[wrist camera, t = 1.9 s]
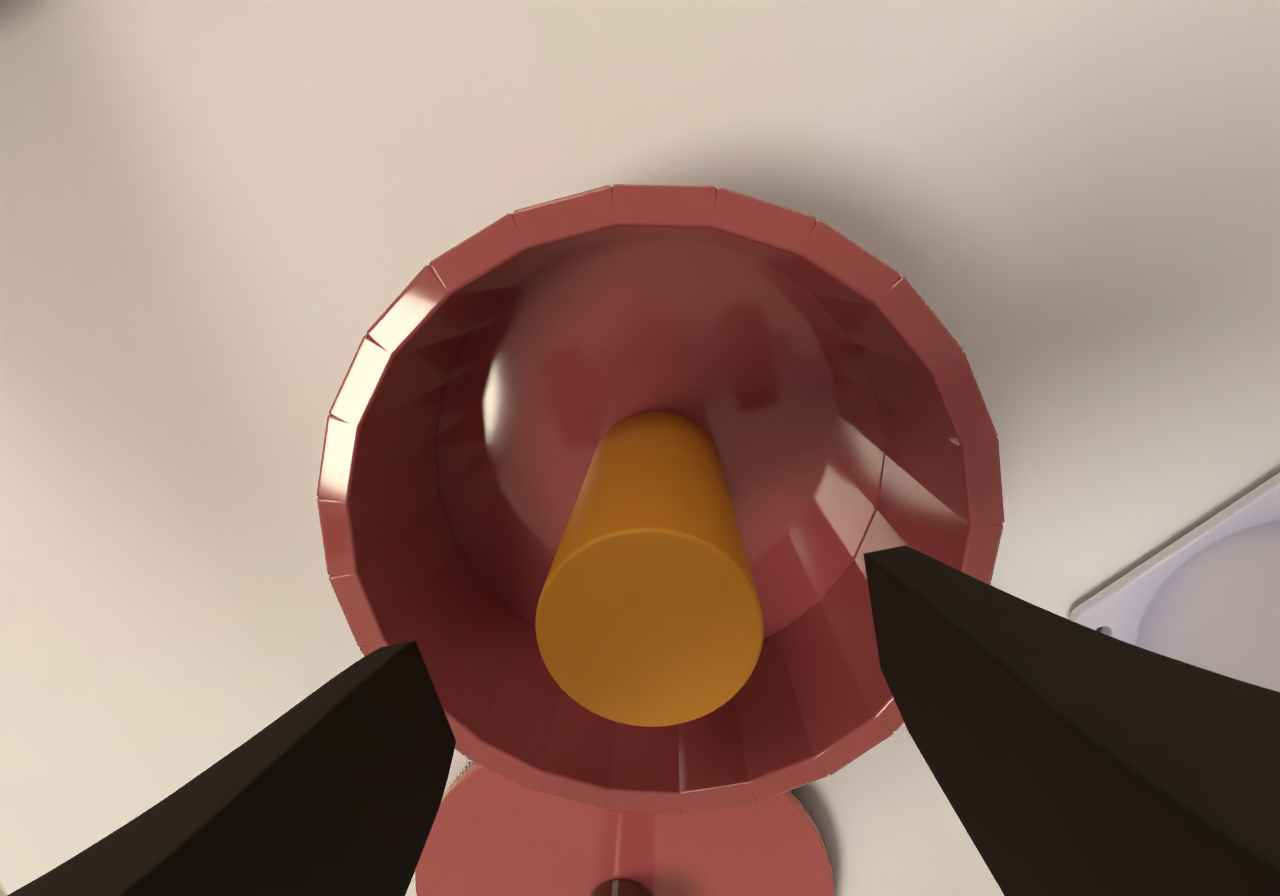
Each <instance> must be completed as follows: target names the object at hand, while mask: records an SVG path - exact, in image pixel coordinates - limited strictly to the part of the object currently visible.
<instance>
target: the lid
mask: <svg viewBox="0 0 1280 896" xmlns="http://www.w3.org/2000/svg"><path fill="white" fill-rule="evenodd" d="M415 874H416V893H417V896H835V890H834V881H833V872H832V868H831V865H830V861H829V858H828V854H827V851H826V848H825V844H824V841H823V839H822V837H821V835H820V833H819V831H818V829H817V826H816V824H815V822H814V820H813V819H812V818H811V816H810V815H809V813H808V812H807V810H806V809H805V808H804V806H803V805H802V803H801V802H800V801H799V799H798V798H797V797H796V796H795V795H794V794H793V793H792V792H791V791H787V792H785V793H782V794H779V795H777V796H774V797H771V798H769V799H766V800H764V801H761V802H758V801H757V803H755V804H749V805H743V806H736V807H729V808H723V809H716V810H710V811H703V812H696V813H690V814H682V813H681V814H680V815H678V814H659V813H641V812H623V811H608V810H607V809H606V808H605V809H600V808H596V807H593V806H589V805H585V804H581V803H577V802H574V801H570V800H566V799H562V798H558V797H555V796H551V795H547V794H543V793H540V792H536V791H535V790H534V789H533V790H529V789H527V788H526V787H524V786H522V785H520V784H518V783H516V782H514V781H512V780H510V779H508V778H506V777H504V776H502V775H500V774H498V773H496V772H494V771H492V770H490V769H488V768H486V767H484V766H482V765H480V764H478V763H475V764H473V765H472V766H471V767H470V768H468V769H467V770H466V771H465V772H464V773H463V774H462V775H461V776H460V777H459V778H458V779H457V780H456V781H454V782H453V784H452V785H451V786H450V787H449V789H448V790H447V791H446V793H445V794H444V795H443V796H442V800H441V804H440V807H439V810H438V812H437V815H436V818H435V820H434V823H433V826H432V828H431V831H430V833H429V836H428V838H427V841H426V844H425V846H424V849H423V851H422V854H421V857H420V859H419V862H418V864H417V867H416V869H415Z"/></svg>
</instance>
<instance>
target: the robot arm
mask: <svg viewBox="0 0 1280 896" xmlns="http://www.w3.org/2000/svg"><path fill="white" fill-rule="evenodd" d="M863 555H864V562H865V569H866V575H867V582H868V589H869V595H870V602H871V609H872V615H873V622H874V628H875V635H876V642H877V648H878V655H879V662H880V668H881V670H882V673H883V675H884V677H885V680H886V682H887V684H888V687H889V689H890V691H891V694H892V696H893V698H894V701H895V703H896V705H897V707H898V709H899V712H900V714H901V716H902V718H903V721H904V723H905V725H906V727H907V729H908V731H909V733H910V735H911V737H912V738H913V740H914V742H915V744H916V745H917V747H918V749H919V750H920V752H921V754H922V756H923V757H924V759H925V761H926V763H927V764H928V766H929V768H930V769H931V771H932V773H933V775H934V776H935V778H936V780H937V781H938V783H939V785H940V787H941V788H942V790H943V792H944V793H945V795H946V797H947V798H948V800H949V802H950V804H951V805H952V807H953V809H954V810H955V812H956V814H957V815H958V817H959V819H960V820H961V822H962V824H963V826H964V827H965V829H966V831H967V832H968V834H969V836H970V837H971V839H972V841H973V843H974V844H975V846H976V848H977V849H978V851H979V853H980V854H981V856H982V858H983V860H984V861H985V863H986V865H987V866H988V868H989V870H990V871H991V873H992V875H993V877H994V878H995V880H996V882H997V883H998V885H999V887H1000V888H1001V890H1002V892H1003V894H1004V896H1280V472H1279V473H1278V474H1276V475H1275V476H1273V477H1272V478H1270V479H1269V480H1267V481H1266V482H1264V483H1263V484H1261V485H1260V486H1258V487H1257V488H1255V489H1254V490H1252V491H1251V492H1249V493H1248V494H1246V495H1245V496H1243V497H1242V498H1240V499H1239V500H1237V501H1235V502H1234V503H1232V504H1231V505H1229V506H1228V507H1226V508H1225V509H1223V510H1222V511H1220V512H1219V513H1217V514H1216V515H1214V516H1213V517H1211V518H1210V519H1208V520H1207V521H1205V522H1204V523H1202V524H1201V525H1199V526H1198V527H1196V528H1195V529H1193V530H1192V531H1190V532H1189V533H1187V534H1186V535H1184V536H1183V537H1181V538H1180V539H1178V540H1177V541H1175V542H1174V543H1172V544H1171V545H1169V546H1168V547H1166V548H1165V549H1163V550H1162V551H1160V552H1158V553H1157V554H1155V555H1154V556H1152V557H1151V558H1149V559H1148V560H1146V561H1145V562H1143V563H1142V564H1140V565H1139V566H1137V567H1136V568H1134V569H1133V570H1131V571H1130V572H1128V573H1127V574H1125V575H1124V576H1122V577H1121V578H1119V579H1118V580H1116V581H1115V582H1113V583H1112V584H1110V585H1109V586H1107V587H1106V588H1104V589H1103V590H1101V591H1100V592H1098V593H1097V594H1095V595H1094V596H1092V597H1091V598H1089V599H1088V600H1086V601H1085V602H1083V603H1081V604H1080V605H1078V606H1077V607H1076V608H1075V609H1074V610H1073V611H1072V612H1071V614H1070V616H1069V620H1068V619H1066V618H1063V617H1061V616H1058V615H1056V614H1054V613H1051V612H1049V611H1047V610H1044V609H1042V608H1040V607H1037V606H1035V605H1033V604H1030V603H1028V602H1026V601H1024V600H1021V599H1019V598H1017V597H1015V596H1012V595H1010V594H1008V593H1006V592H1004V591H1002V590H999V589H997V588H995V587H993V586H991V585H989V584H986V583H984V582H982V581H980V580H978V579H976V578H974V577H972V576H970V575H968V574H965V573H963V572H961V571H959V570H957V569H955V568H953V567H951V566H949V565H947V564H945V563H943V562H941V561H938V560H936V559H934V558H932V557H930V556H928V555H926V554H924V553H921V552H919V551H917V550H915V549H912V548H910V547H907V546H900V547H894V548H889V549H884V550H879V551H874V552H869V553H864V554H863ZM1100 627H1102V629H1101V630H1100V631H1099V632H1098V631H1096V630H1097V629H1098V628H1100ZM455 744H456V739H455V737H454V734H453V732H452V729H451V727H450V724H449V722H448V719H447V717H446V714H445V712H444V710H443V707H442V705H441V702H440V700H439V697H438V695H437V692H436V690H435V687H434V685H433V682H432V680H431V677H430V675H429V672H428V670H427V667H426V665H425V662H424V660H423V657H422V655H421V652H420V650H419V647H418V645H417V642H416V640H415V641H410V642H405V643H400V644H395V645H389V646H384V647H380V648H379V649H377V650H375V651H373V652H372V653H370V654H368V655H367V656H365V657H363V658H362V659H360V660H359V661H357V662H356V663H354V664H353V665H351V666H350V667H348V668H347V669H345V670H344V671H343V672H341V673H340V674H338V675H337V676H336V677H334V678H333V679H331V680H330V681H329V682H327V683H326V684H324V685H323V686H322V687H320V688H319V689H318V690H316V691H315V692H313V693H312V694H311V695H309V696H308V697H307V698H305V699H304V700H303V701H301V702H300V703H298V704H297V705H296V706H294V707H293V708H292V709H290V710H289V711H288V712H286V713H285V714H284V715H282V716H281V717H279V718H278V719H277V720H275V721H274V722H273V723H271V724H270V725H269V726H267V727H266V728H265V729H263V730H262V731H260V732H259V733H258V734H256V735H255V736H254V737H252V738H251V739H250V740H248V741H247V742H245V743H244V744H242V745H241V746H240V747H238V748H237V749H235V750H234V751H232V752H231V753H230V754H228V755H227V756H225V757H224V758H223V759H221V760H220V761H218V762H217V763H215V764H214V765H213V766H211V767H210V768H208V769H207V770H205V771H204V772H203V773H201V774H200V775H198V776H197V777H196V778H194V779H193V780H191V781H190V782H188V783H187V784H186V785H184V786H183V787H181V788H180V789H178V790H177V791H176V792H174V793H173V794H171V795H170V796H168V797H167V798H165V799H164V800H162V801H161V802H159V803H158V804H156V805H155V806H153V807H152V808H150V809H149V810H147V811H146V812H144V813H143V814H141V815H140V816H138V817H137V818H135V819H133V820H132V821H130V822H129V823H127V824H126V825H124V826H123V827H121V828H119V829H118V830H116V831H115V832H113V833H111V834H110V835H108V836H107V837H105V838H103V839H102V840H100V841H99V842H97V843H95V844H94V845H92V846H91V847H89V848H87V849H86V850H84V851H83V852H81V853H79V854H78V855H76V856H75V857H73V858H71V859H70V860H68V861H66V862H65V863H63V864H61V865H60V866H58V867H56V868H55V869H53V870H51V871H50V872H48V873H46V874H45V875H43V876H41V877H39V878H38V879H36V880H34V881H32V882H30V883H29V884H27V885H25V886H23V887H22V888H20V889H18V890H16V891H15V892H13V893H11V894H9V895H8V896H405V894H406V892H407V889H408V887H409V884H410V882H411V879H412V877H413V874H414V872H415V869H416V867H417V864H418V862H419V859H420V857H421V854H422V851H423V849H424V846H425V844H426V841H427V838H428V836H429V833H430V831H431V828H432V826H433V823H434V820H435V818H436V815H437V812H438V810H439V807H440V804H441V800H442V796H443V793H444V789H445V786H446V782H447V778H448V774H449V770H450V766H451V762H452V757H453V753H454V749H455Z"/></svg>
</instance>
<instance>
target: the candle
mask: <svg viewBox="0 0 1280 896" xmlns="http://www.w3.org/2000/svg"><path fill="white" fill-rule="evenodd" d="M535 628H536V637H537V642H538V646H539V650H540V653H541V656H542V658H543V661H544V663H545V665H546V667H547V669H548V671H549V672H550V674H551V676H552V677H553V679H554V680H555V681H556V682H557V684H558V685H559V686H560V688H561V689H562V690H563V691H564V692H566V693H567V694H568V695H569V696H570V697H571V698H572V699H573V700H575V701H576V702H577V703H578V704H580V705H581V706H583V707H585V708H586V709H588V710H589V711H591V712H593V713H595V714H597V715H600V716H602V717H604V718H607V719H610V720H613V721H616V722H619V723H624V724H628V725H634V726H644V727H661V726H670V725H676V724H681V723H685V722H689V721H692V720H695V719H697V718H700V717H702V716H704V715H707V714H709V713H711V712H713V711H714V710H716V709H717V708H719V707H721V706H722V705H724V704H725V703H726V702H727V701H729V700H730V699H731V698H732V697H733V696H734V695H735V694H736V693H737V692H738V691H739V690H740V689H741V688H742V687H743V686H744V684H745V683H746V681H747V680H748V678H749V677H750V676H751V674H752V672H753V670H754V668H755V666H756V664H757V662H758V659H759V656H760V653H761V650H762V644H763V638H764V619H763V612H762V608H761V604H760V600H759V597H758V593H757V590H756V586H755V583H754V579H753V576H752V572H751V569H750V565H749V561H748V558H747V554H746V551H745V547H744V544H743V540H742V537H741V533H740V529H739V526H738V522H737V519H736V515H735V512H734V508H733V505H732V501H731V498H730V494H729V490H728V487H727V483H726V480H725V476H724V473H723V469H722V466H721V462H720V459H719V455H718V452H717V450H716V448H715V445H714V444H713V442H712V441H711V439H710V438H709V436H708V435H707V434H706V433H705V432H704V431H703V430H702V429H701V428H700V427H699V426H698V425H696V424H695V423H693V422H692V421H690V420H688V419H687V418H685V417H682V416H680V415H677V414H673V413H669V412H661V411H649V412H643V413H639V414H635V415H632V416H630V417H627V418H625V419H623V420H622V421H620V422H618V423H617V424H616V425H614V426H613V427H612V428H611V429H610V430H609V431H608V432H607V433H606V434H605V435H604V437H603V438H602V439H601V441H600V442H599V444H598V446H597V448H596V451H595V453H594V456H593V458H592V461H591V464H590V466H589V469H588V472H587V474H586V477H585V479H584V482H583V485H582V487H581V490H580V493H579V495H578V498H577V500H576V503H575V506H574V508H573V511H572V513H571V516H570V519H569V521H568V524H567V527H566V529H565V532H564V534H563V537H562V540H561V542H560V545H559V548H558V550H557V553H556V555H555V558H554V561H553V563H552V566H551V568H550V571H549V574H548V576H547V579H546V582H545V584H544V587H543V590H542V592H541V595H540V598H539V601H538V606H537V611H536V624H535Z"/></svg>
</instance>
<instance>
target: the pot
mask: <svg viewBox="0 0 1280 896" xmlns="http://www.w3.org/2000/svg"><path fill="white" fill-rule="evenodd" d="M649 411H661V412H669V413H673V414H677V415H680V416H682V417H685V418H687V419H688V420H690V421H692V422H693V423H695V424H696V425H698V426H699V427H700V428H701V429H702V430H703V431H704V432H705V433H706V434H707V435H708V436H709V438H710V439H711V441H712V442H713V444H714V445H715V448H716V450H717V452H718V455H719V459H720V462H721V466H722V469H723V473H724V476H725V480H726V483H727V487H728V490H729V494H730V498H731V501H732V505H733V508H734V512H735V515H736V519H737V522H738V526H739V529H740V533H741V537H742V540H743V544H744V547H745V551H746V554H747V558H748V561H749V565H750V569H751V572H752V576H753V579H754V583H755V586H756V590H757V593H758V597H759V600H760V604H761V608H762V612H763V619H764V638H763V644H762V650H761V653H760V656H759V659H758V662H757V664H756V666H755V668H754V670H753V672H752V674H751V676H750V677H749V678H748V680H747V681H746V683H745V684H744V686H743V687H742V688H741V689H740V690H739V691H738V692H737V693H736V694H735V695H734V696H733V697H732V698H731V699H730V700H729V701H727V702H726V703H725V704H724V705H722V706H721V707H719V708H717V709H716V710H714V711H713V712H711V713H709V714H707V715H704V716H702V717H700V718H697V719H695V720H692V721H689V722H685V723H681V724H676V725H670V726H661V727H644V726H634V725H628V724H624V723H619V722H616V721H613V720H610V719H607V718H604V717H602V716H600V715H597V714H595V713H593V712H591V711H589V710H588V709H586V708H585V707H583V706H581V705H580V704H578V703H577V702H576V701H575V700H573V699H572V698H571V697H570V696H569V695H568V694H567V693H566V692H564V691H563V690H562V689H561V688H560V686H559V685H558V684H557V682H556V681H555V680H554V679H553V677H552V676H551V674H550V672H549V671H548V669H547V667H546V665H545V663H544V661H543V658H542V656H541V653H540V650H539V646H538V642H537V637H536V628H535V624H536V611H537V606H538V601H539V598H540V595H541V592H542V590H543V587H544V584H545V582H546V579H547V576H548V574H549V571H550V568H551V566H552V563H553V561H554V558H555V555H556V553H557V550H558V548H559V545H560V542H561V540H562V537H563V534H564V532H565V529H566V527H567V524H568V521H569V519H570V516H571V513H572V511H573V508H574V506H575V503H576V500H577V498H578V495H579V493H580V490H581V487H582V485H583V482H584V479H585V477H586V474H587V472H588V469H589V466H590V464H591V461H592V458H593V456H594V453H595V451H596V448H597V446H598V444H599V442H600V441H601V439H602V438H603V437H604V435H605V434H606V433H607V432H608V431H609V430H610V429H611V428H612V427H613V426H614V425H616V424H617V423H618V422H620V421H622V420H623V419H625V418H627V417H630V416H632V415H635V414H639V413H643V412H649ZM329 414H330V415H329V416H328V418H327V425H326V432H325V440H324V447H323V454H322V461H321V468H320V476H319V483H318V490H317V496H318V500H317V502H318V509H319V516H320V523H321V530H322V537H323V544H324V551H325V558H326V564H327V571H328V575H330V576H329V580H330V582H331V585H332V587H333V589H334V592H335V594H336V596H337V599H338V601H339V603H340V605H341V608H342V610H343V612H344V615H345V617H346V619H347V622H348V624H349V626H350V628H351V631H352V633H353V635H354V638H355V640H356V642H357V645H358V646H359V647H360V650H361V652H362V653H363V654H364V656H367V655H368V654H370V653H372V652H373V651H375V650H377V649H379V648H380V647H384V646H389V645H395V644H400V643H405V642H410V641H415V640H416V642H417V645H418V647H419V650H420V652H421V655H422V657H423V660H424V662H425V665H426V667H427V670H428V672H429V675H430V677H431V680H432V682H433V685H434V687H435V690H436V692H437V695H438V697H439V700H440V702H441V705H442V707H443V710H444V712H445V714H446V717H447V719H448V722H449V724H450V727H451V729H452V732H453V734H454V737H455V739H456V744H455V749H456V750H457V751H459V752H460V753H461V754H462V755H466V757H467V758H468V759H470V760H472V761H474V762H476V763H478V764H480V765H482V766H484V767H486V768H488V769H490V770H492V771H494V772H496V773H498V774H500V775H502V776H504V777H506V778H508V779H510V780H512V781H514V782H516V783H518V784H520V785H522V786H524V787H526V788H527V789H529V790H533V789H534V790H535V791H536V792H540V793H543V794H547V795H551V796H555V797H558V798H562V799H566V800H570V801H574V802H577V803H581V804H585V805H589V806H593V807H596V808H600V809H605V808H606V809H607V810H608V811H623V812H641V813H659V814H678V815H680V814H681V813H682V814H690V813H696V812H703V811H710V810H716V809H723V808H729V807H736V806H743V805H749V804H755V803H757V801H758V802H761V801H764V800H766V799H769V798H771V797H774V796H777V795H779V794H782V793H785V792H787V791H790V790H793V789H795V788H798V787H801V786H803V785H806V784H809V783H811V782H814V781H816V780H819V779H822V778H824V777H827V776H828V774H829V775H832V774H833V773H835V772H837V771H838V770H840V769H841V768H843V767H844V766H846V765H847V764H849V763H850V762H852V761H853V760H855V759H856V758H858V757H859V756H861V755H862V754H864V753H865V752H867V751H868V750H870V749H871V748H873V747H874V746H876V745H877V744H879V743H880V742H882V741H884V740H885V739H887V738H888V737H890V736H891V735H892V734H893V731H896V730H897V729H898V728H899V727H900V726H901V725H902V724H903V723H904V721H903V718H902V716H901V714H900V712H899V709H898V707H897V705H896V703H895V701H894V698H893V696H892V694H891V691H890V689H889V687H888V684H887V682H886V680H885V677H884V675H883V673H882V670H881V668H880V662H879V655H878V648H877V642H876V635H875V628H874V622H873V615H872V609H871V602H870V595H869V589H868V582H867V575H866V569H865V562H864V555H863V554H864V553H869V552H874V551H879V550H884V549H889V548H894V547H900V546H907V547H910V548H912V549H915V550H917V551H919V552H921V553H924V554H926V555H928V556H930V557H932V558H934V559H936V560H938V561H941V562H943V563H945V564H947V565H949V566H951V567H953V568H955V569H957V570H959V571H961V572H963V573H965V574H968V575H970V576H972V577H974V578H976V579H978V580H980V581H982V582H984V583H986V584H989V585H990V584H991V579H992V575H993V570H994V566H995V561H996V556H997V552H998V547H999V543H1000V538H1001V534H1002V529H1003V524H1002V523H1004V510H1003V497H1002V484H1001V471H1000V457H999V444H998V438H997V433H996V430H995V428H994V425H993V423H992V420H991V418H990V415H989V413H988V410H987V408H986V405H985V403H984V400H983V397H982V395H981V392H980V390H979V387H978V385H977V382H976V380H975V377H974V375H973V372H972V370H971V367H970V365H969V362H968V360H967V357H966V355H965V353H964V352H963V350H962V348H961V347H960V345H959V344H958V343H957V342H956V340H955V339H954V338H953V337H952V335H951V334H950V333H949V332H948V330H947V329H946V328H945V327H944V325H943V324H942V323H941V322H940V321H939V319H938V318H937V317H936V316H935V314H934V313H933V312H932V311H931V309H930V308H929V307H928V306H927V304H926V303H925V302H924V301H923V299H922V298H921V297H920V296H919V294H918V293H917V292H916V291H915V290H914V288H913V287H912V286H911V285H910V283H909V282H908V281H907V280H906V278H905V277H900V274H899V273H898V272H897V271H895V270H894V269H892V268H891V267H889V266H888V265H887V264H885V263H884V262H882V261H881V260H879V259H878V258H876V257H875V256H873V255H872V254H870V253H869V252H867V251H866V250H864V249H863V248H861V247H860V246H858V245H857V244H855V243H854V242H853V241H851V240H850V239H848V238H847V237H845V236H844V235H842V234H841V233H839V232H838V231H836V230H835V229H833V228H832V227H830V226H829V225H827V224H826V223H824V222H823V221H820V220H817V221H816V218H814V217H813V216H810V215H806V214H803V213H800V212H797V211H794V210H791V209H787V208H784V207H781V206H778V205H775V204H772V203H768V202H765V201H762V200H759V199H756V198H753V197H749V196H746V195H743V194H740V193H737V192H733V191H730V190H727V189H724V188H718V190H717V188H716V187H714V186H674V185H625V184H615V185H613V187H611V186H609V185H607V186H604V187H600V188H596V189H593V190H589V191H585V192H581V193H578V194H574V195H570V196H567V197H563V198H559V199H556V200H552V201H548V202H545V203H541V204H537V205H533V206H530V207H526V208H522V209H519V210H515V211H514V212H513V214H512V213H511V214H507V215H505V216H504V217H502V218H500V219H499V220H497V221H495V222H494V223H492V224H491V225H489V226H487V227H486V228H484V229H483V230H481V231H479V232H478V233H476V234H474V235H473V236H471V237H470V238H468V239H466V240H465V241H463V242H461V243H460V244H458V245H457V246H455V247H453V248H452V249H450V250H448V251H447V252H445V253H444V254H442V255H440V256H439V257H437V258H435V259H434V260H432V261H431V262H430V264H429V265H427V266H425V267H424V268H423V269H422V270H421V271H420V272H419V273H418V275H417V276H416V277H415V278H414V279H413V280H412V281H411V282H410V284H409V285H408V286H407V287H406V288H405V289H404V290H403V292H402V293H401V294H400V295H399V296H398V297H397V298H396V299H395V301H394V302H393V303H392V304H391V305H390V306H389V307H388V308H387V310H386V311H385V312H384V313H383V314H382V315H381V316H380V317H379V319H378V320H377V321H376V322H375V323H374V324H373V325H372V326H371V328H370V329H369V330H368V332H367V335H365V336H364V337H363V339H362V341H361V343H360V346H359V348H358V350H357V352H356V354H355V356H354V359H353V361H352V363H351V365H350V367H349V370H348V372H347V374H346V376H345V378H344V380H343V383H342V385H341V387H340V389H339V391H338V394H337V396H336V398H335V400H334V402H333V404H332V407H331V409H330V411H329Z"/></svg>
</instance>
